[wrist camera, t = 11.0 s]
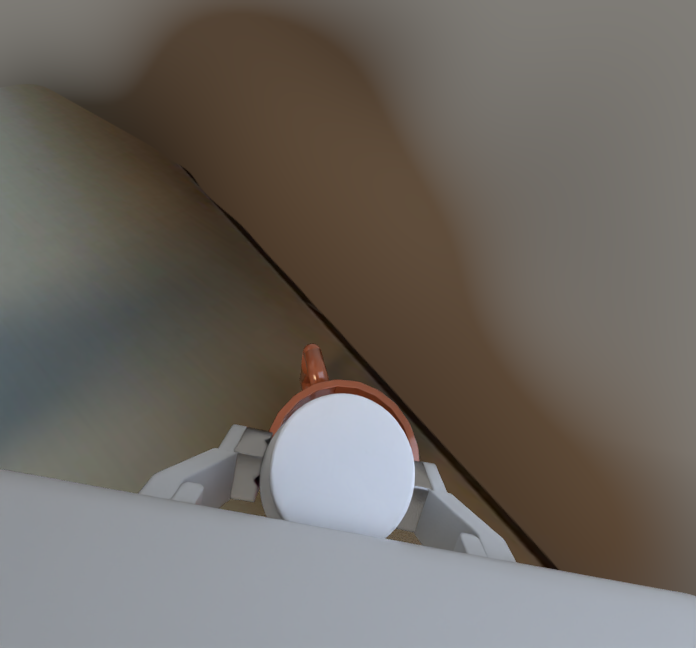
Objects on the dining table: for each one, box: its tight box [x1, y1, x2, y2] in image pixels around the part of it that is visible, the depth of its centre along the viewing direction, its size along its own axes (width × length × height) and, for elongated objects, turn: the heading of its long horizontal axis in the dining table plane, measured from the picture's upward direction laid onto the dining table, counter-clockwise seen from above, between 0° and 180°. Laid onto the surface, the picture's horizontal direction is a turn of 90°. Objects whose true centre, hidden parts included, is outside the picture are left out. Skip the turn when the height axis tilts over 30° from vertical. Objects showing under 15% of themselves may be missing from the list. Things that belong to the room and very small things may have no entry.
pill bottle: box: [260, 393, 415, 539], centre depth 12 cm, size 5×5×8 cm
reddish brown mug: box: [269, 344, 419, 461], centre depth 27 cm, size 14×10×11 cm
